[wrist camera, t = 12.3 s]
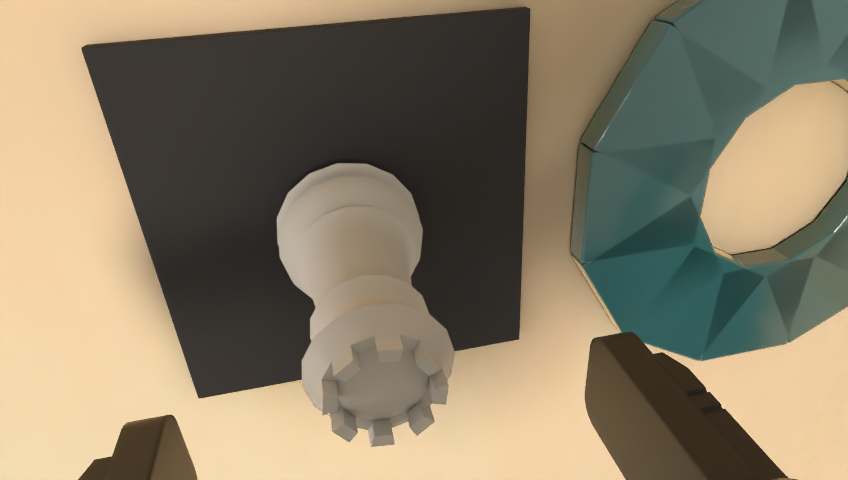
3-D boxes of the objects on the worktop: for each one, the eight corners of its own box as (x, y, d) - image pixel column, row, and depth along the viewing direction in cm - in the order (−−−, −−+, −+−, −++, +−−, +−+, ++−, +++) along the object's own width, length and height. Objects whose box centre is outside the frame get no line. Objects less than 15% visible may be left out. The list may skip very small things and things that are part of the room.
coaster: (85, 45, 15) (80, 47, 14) (525, 6, 16) (531, 7, 16) (199, 391, 20) (198, 399, 20) (516, 333, 22) (519, 339, 22)
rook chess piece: (396, 290, 20) (456, 482, 13) (264, 273, 18) (251, 477, 11) (433, 172, 18) (526, 320, 11) (290, 142, 16) (293, 290, 9)
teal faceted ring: (594, -56, 16) (612, -56, 15) (1045, -88, 19) (1082, -89, 18) (559, 372, 24) (569, 388, 23) (881, 308, 26) (901, 321, 25)
